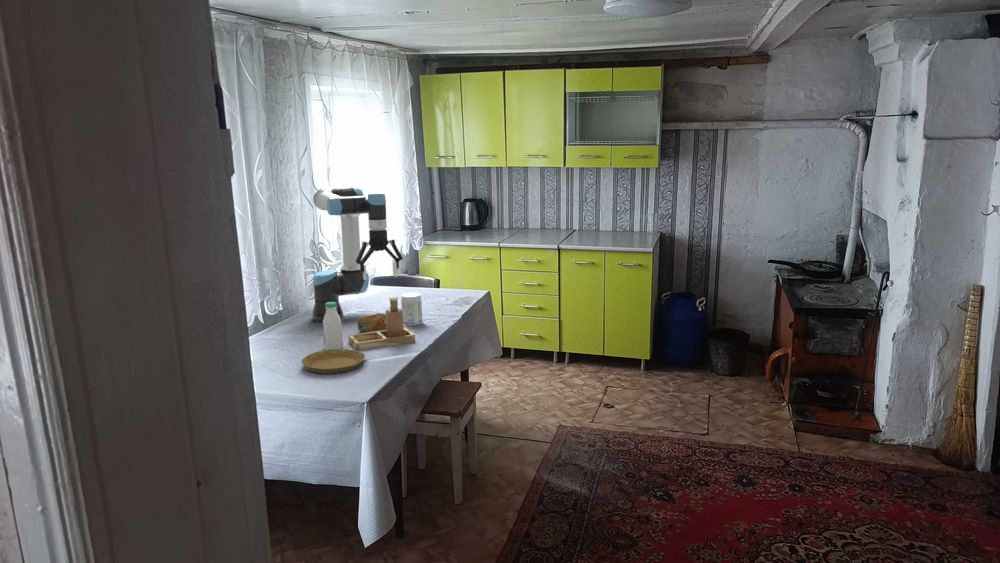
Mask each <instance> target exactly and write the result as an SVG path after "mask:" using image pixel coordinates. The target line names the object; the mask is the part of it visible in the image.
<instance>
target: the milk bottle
mask: <svg viewBox="0 0 1000 563" xmlns="http://www.w3.org/2000/svg"><path fill="white" fill-rule="evenodd" d="M325 307H326V313H325V316H324V319H323V321H322V332H323V344H324V345H323V347H324V349H325V350H324V351H326V350H337V349H343V347H344V342H343V340H344V339H343V326H342V318H341V319H340V316H339V315H338V313H337V310H336V308H337V304H336V302H327V303H325Z"/></svg>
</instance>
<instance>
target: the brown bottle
mask: <svg viewBox="0 0 1000 563" xmlns="http://www.w3.org/2000/svg"><path fill="white" fill-rule="evenodd" d="M388 299H389V307H390V308H389V309H387V310H385V312H384V314H385V315H386V328H385V330H386V336H387V338H392V337H399V336H404V327H405V325H404V321H403V310H402V308H399V306H398V304H399V303H398V301H399V297H398V296H390V297H388Z"/></svg>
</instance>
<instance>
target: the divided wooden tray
mask: <svg viewBox="0 0 1000 563" xmlns="http://www.w3.org/2000/svg"><path fill="white" fill-rule="evenodd" d="M415 342H416V334H415V333H413V332H412V331H410V330H409V329H408V328H406V326H404V336H399V337H392V338H387V336H386V329H383V330H382V329H381V330H374V331H369V332H364V333H362V332H360V333H356V334H355V333H354V334H348V343H349V344H350V345H351V346H352V347H353V348H354V349H355V351H363V350H370V349H376V348H377V349H378V348H382V347H388V346H389V347H390V346H397V345H402V344H408V343H409V344H410V343H415Z"/></svg>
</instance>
